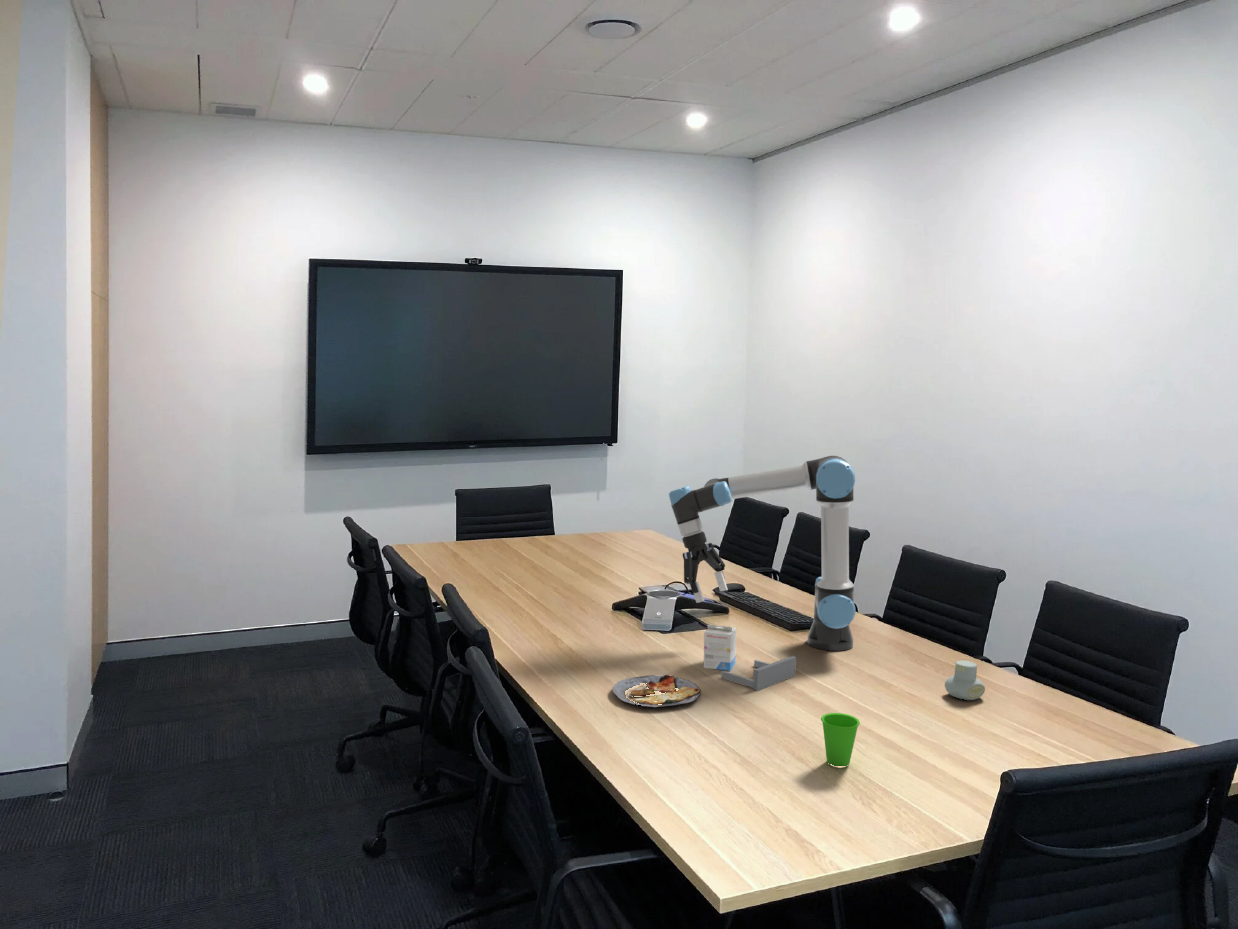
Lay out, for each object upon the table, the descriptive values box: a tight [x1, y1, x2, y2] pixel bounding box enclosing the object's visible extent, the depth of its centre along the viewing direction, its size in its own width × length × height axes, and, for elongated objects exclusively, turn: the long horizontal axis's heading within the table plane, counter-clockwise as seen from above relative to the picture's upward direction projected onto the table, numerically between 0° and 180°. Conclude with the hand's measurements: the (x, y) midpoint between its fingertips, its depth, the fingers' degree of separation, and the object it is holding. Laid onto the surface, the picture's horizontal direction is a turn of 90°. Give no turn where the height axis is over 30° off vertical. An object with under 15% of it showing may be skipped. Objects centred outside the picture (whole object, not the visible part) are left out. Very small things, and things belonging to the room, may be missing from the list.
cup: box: [820, 712, 861, 766], centre depth 228 cm, size 9×9×11 cm
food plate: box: [612, 674, 702, 708], centre depth 271 cm, size 25×23×4 cm
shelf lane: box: [721, 655, 797, 692], centre depth 288 cm, size 14×19×6 cm
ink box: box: [703, 624, 737, 672], centre depth 298 cm, size 9×8×13 cm
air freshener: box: [944, 660, 986, 701], centre depth 275 cm, size 11×8×10 cm
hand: (712, 596), depth 311 cm, fingers open, 13 cm apart
